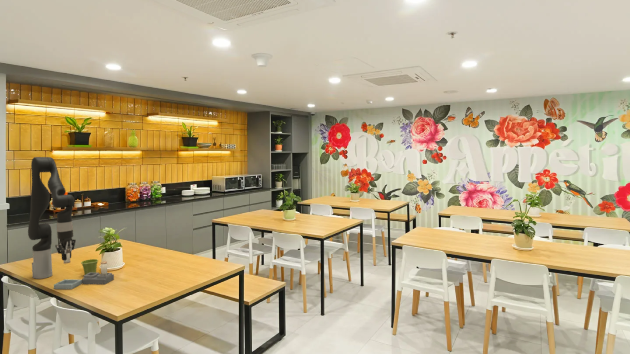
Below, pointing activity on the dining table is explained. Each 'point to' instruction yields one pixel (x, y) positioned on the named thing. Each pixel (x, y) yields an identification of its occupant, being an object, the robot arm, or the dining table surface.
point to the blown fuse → (67, 255)
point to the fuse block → (97, 278)
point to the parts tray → (67, 284)
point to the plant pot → (89, 266)
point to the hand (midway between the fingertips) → (66, 259)
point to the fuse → (104, 268)
